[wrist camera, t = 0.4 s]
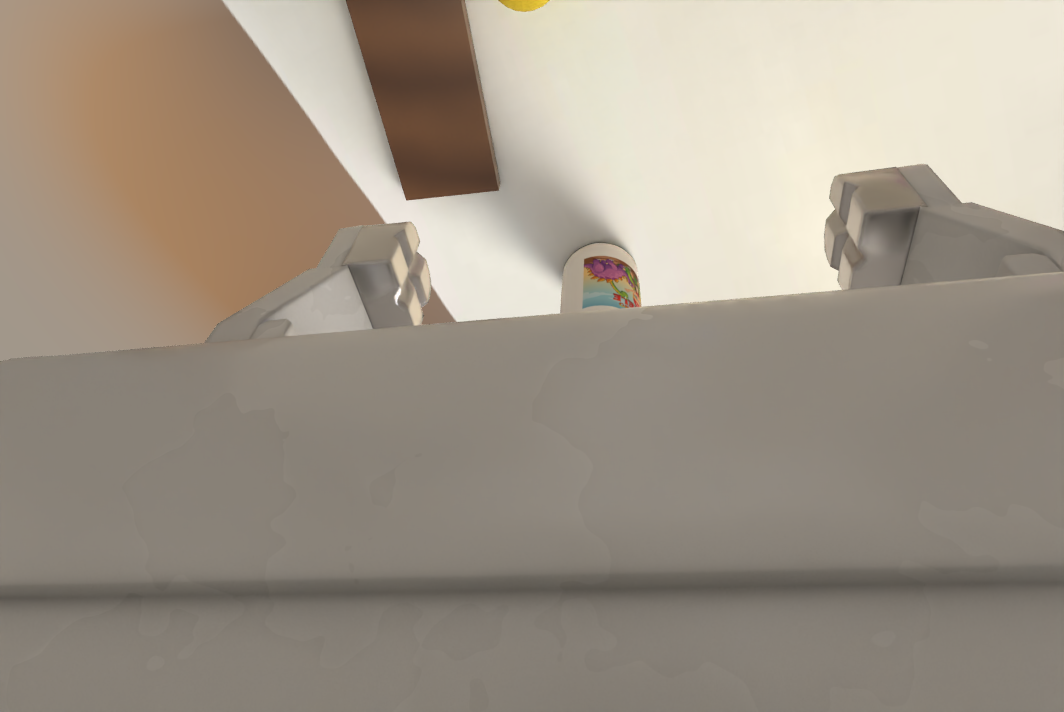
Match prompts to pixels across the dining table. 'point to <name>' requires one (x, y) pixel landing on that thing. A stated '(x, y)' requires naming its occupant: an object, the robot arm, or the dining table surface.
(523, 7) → the lemon
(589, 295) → the milk bottle
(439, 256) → the dining table surface
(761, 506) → the robot arm
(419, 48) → the serving board
